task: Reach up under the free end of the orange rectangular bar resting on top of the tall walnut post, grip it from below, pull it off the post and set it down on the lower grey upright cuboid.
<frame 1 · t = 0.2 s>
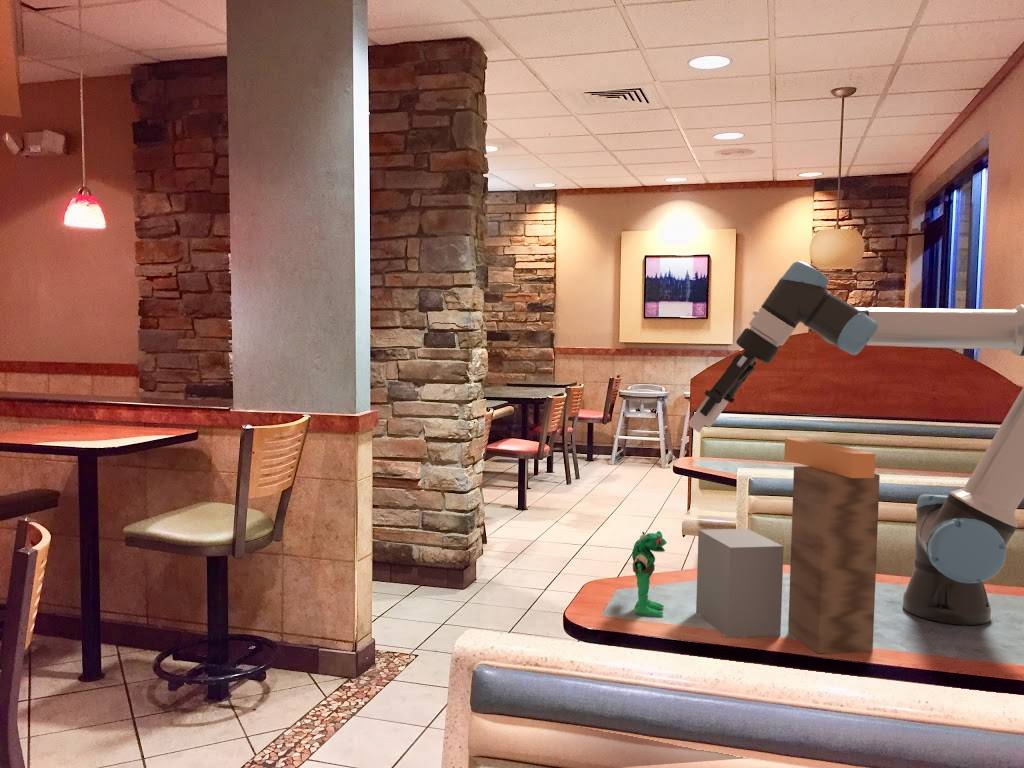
hand: (698, 426, 162), 35 cm above the table, tool tilted 35°, fingers open, 13 cm apart
toy: (647, 611, 158), on the table
grey upright cuboid: (736, 623, 152), on the table
orange rectangular bar: (826, 467, 144), point 30 cm above the table, touching post
post: (829, 641, 143), on the table
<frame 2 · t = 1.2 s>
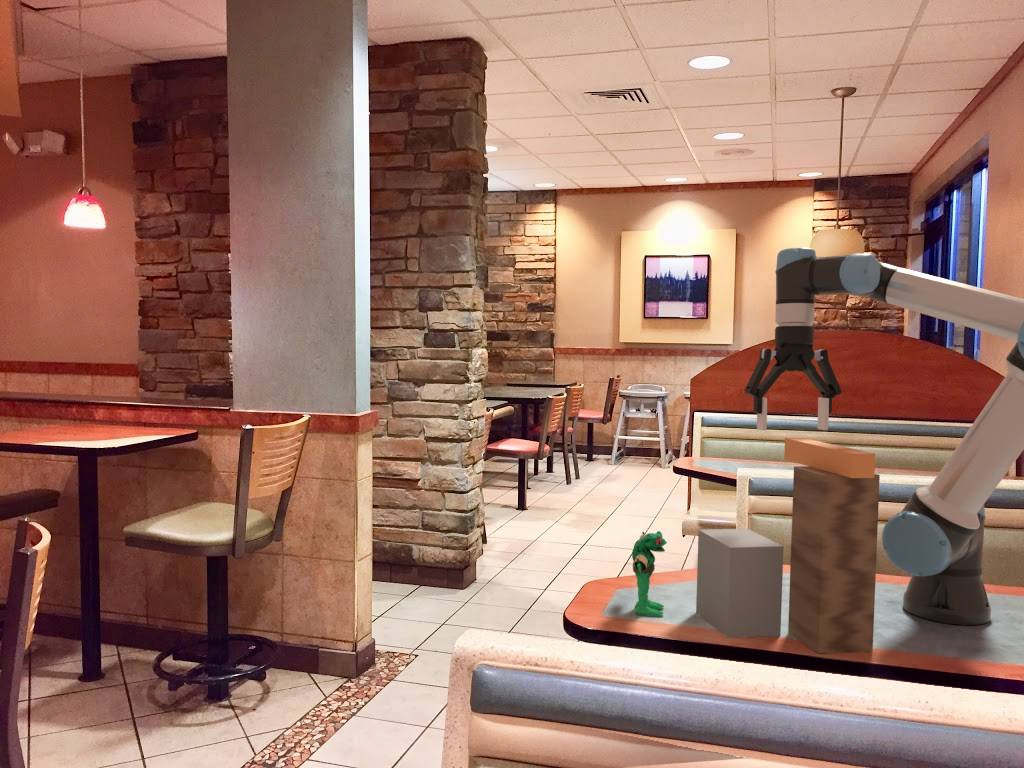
hand: (792, 429, 167), 34 cm above the table, tool pointing down, fingers open, 13 cm apart
nothing on the table moved.
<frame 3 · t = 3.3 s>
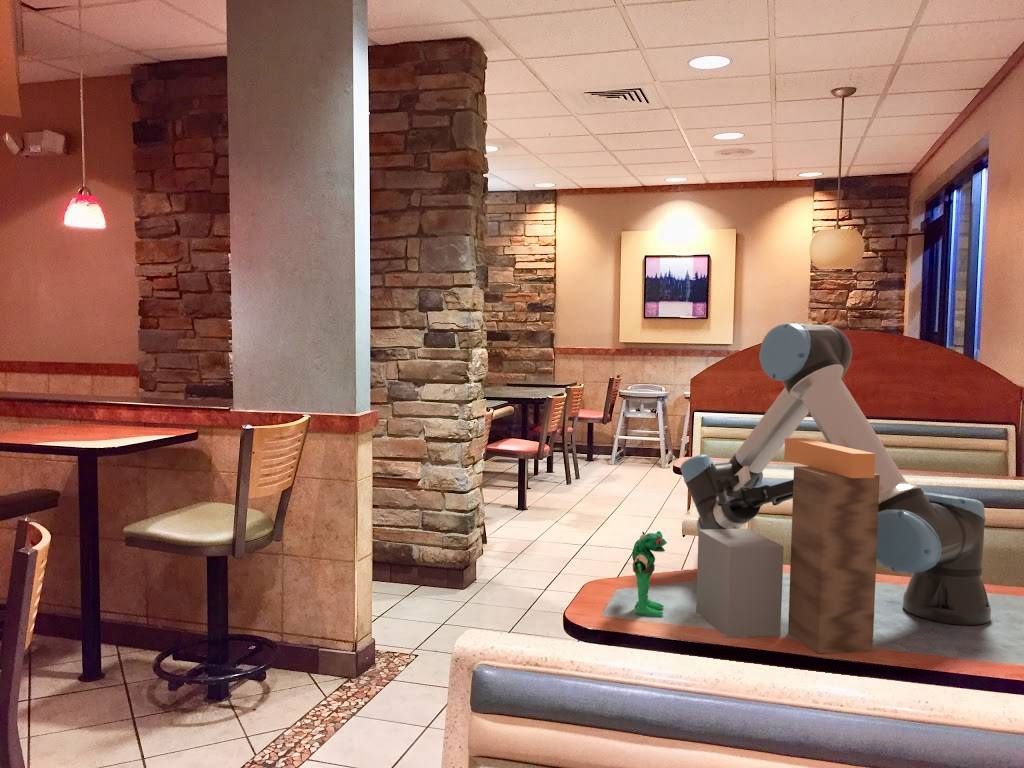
hand: (780, 472, 160), 27 cm above the table, tool pointing upward, fingers open, 13 cm apart
nothing on the table moved.
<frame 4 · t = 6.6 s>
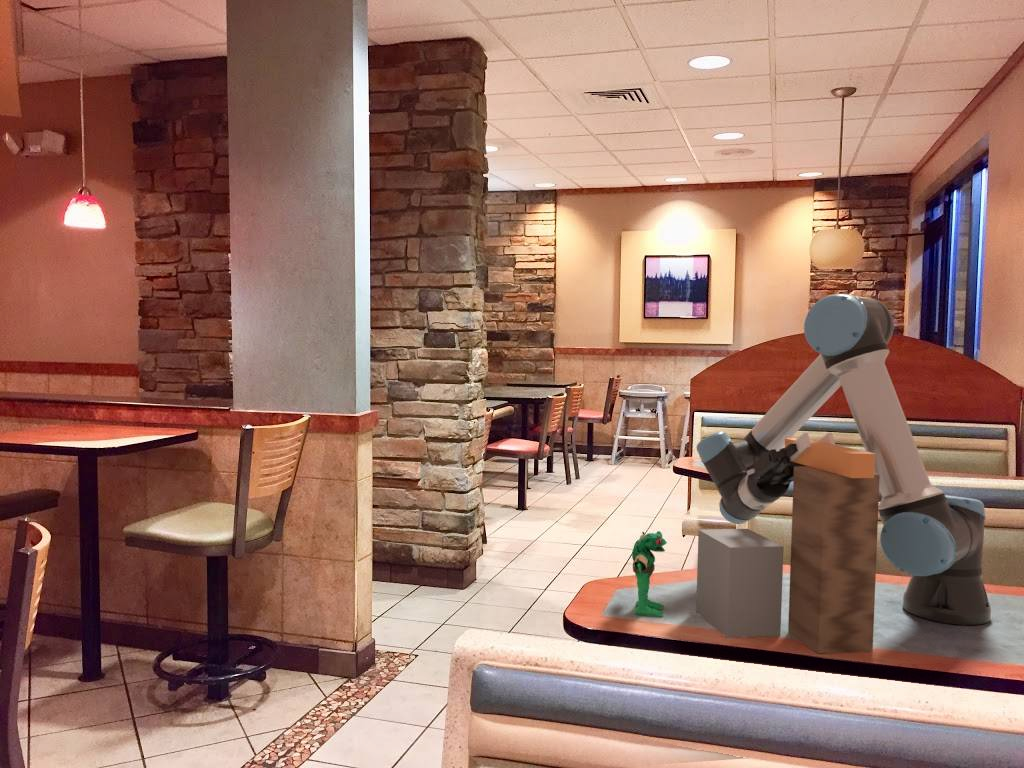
hand: (819, 439, 146), 35 cm above the table, tool pointing upward, fingers closed on orange rectangular bar, 4 cm apart
orange rectangular bar: (826, 467, 144), point 30 cm above the table, touching gripper, post
everything else where it was.
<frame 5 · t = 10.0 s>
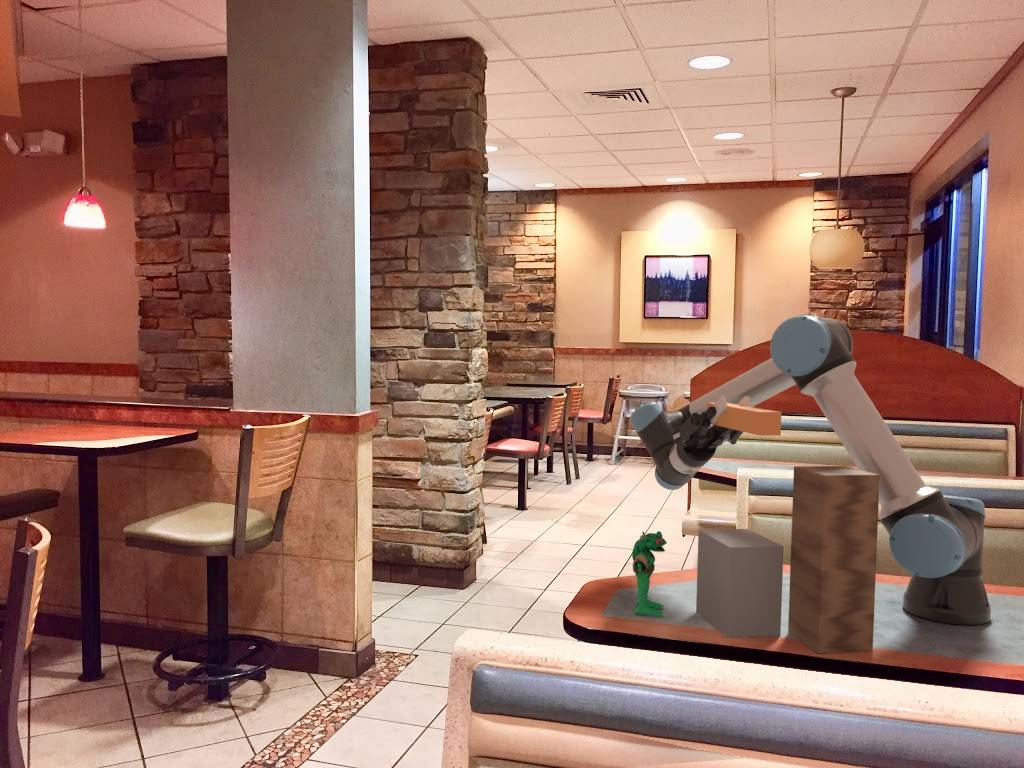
hand: (736, 402, 153), 41 cm above the table, tool pointing upward, fingers closed on orange rectangular bar, 4 cm apart
orange rectangular bar: (741, 428, 151), point 36 cm above the table, touching gripper
everything else where it was.
when the fingers open (25 cm above the table, at t = 13.2 s): orange rectangular bar drops 4 cm, resting on grey upright cuboid.
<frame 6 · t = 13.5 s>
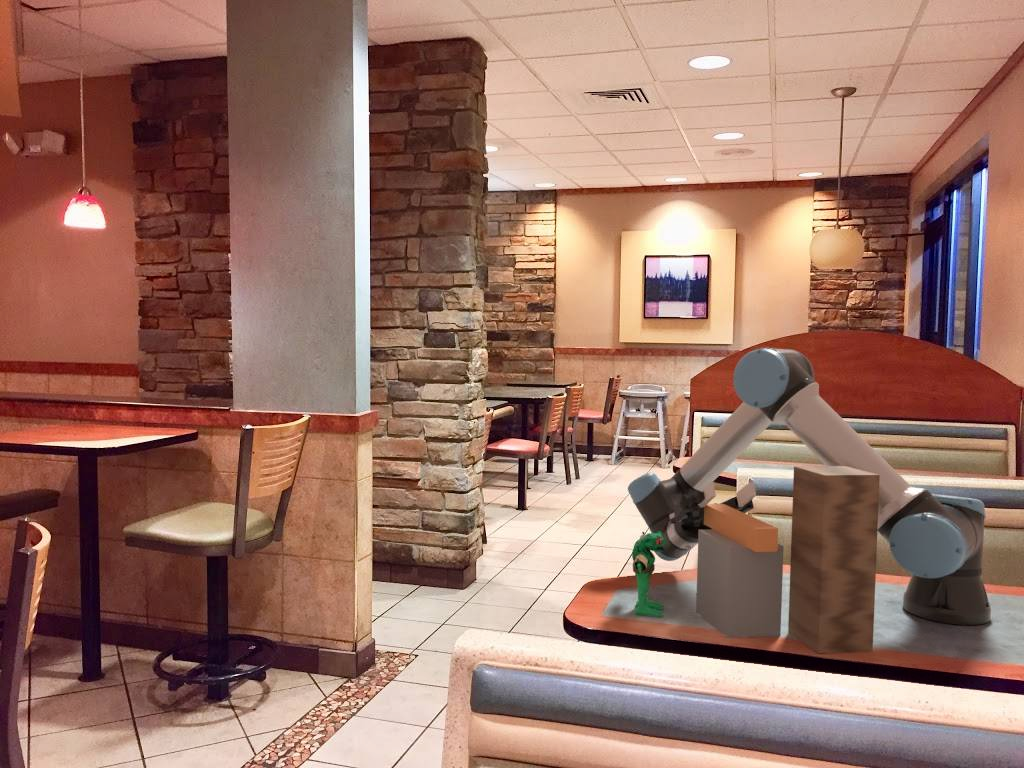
hand: (733, 488, 154), 24 cm above the table, tool pointing upward, fingers open, 7 cm apart
orange rectangular bar: (737, 536, 151), point 16 cm above the table, touching grey upright cuboid
everything else where it was.
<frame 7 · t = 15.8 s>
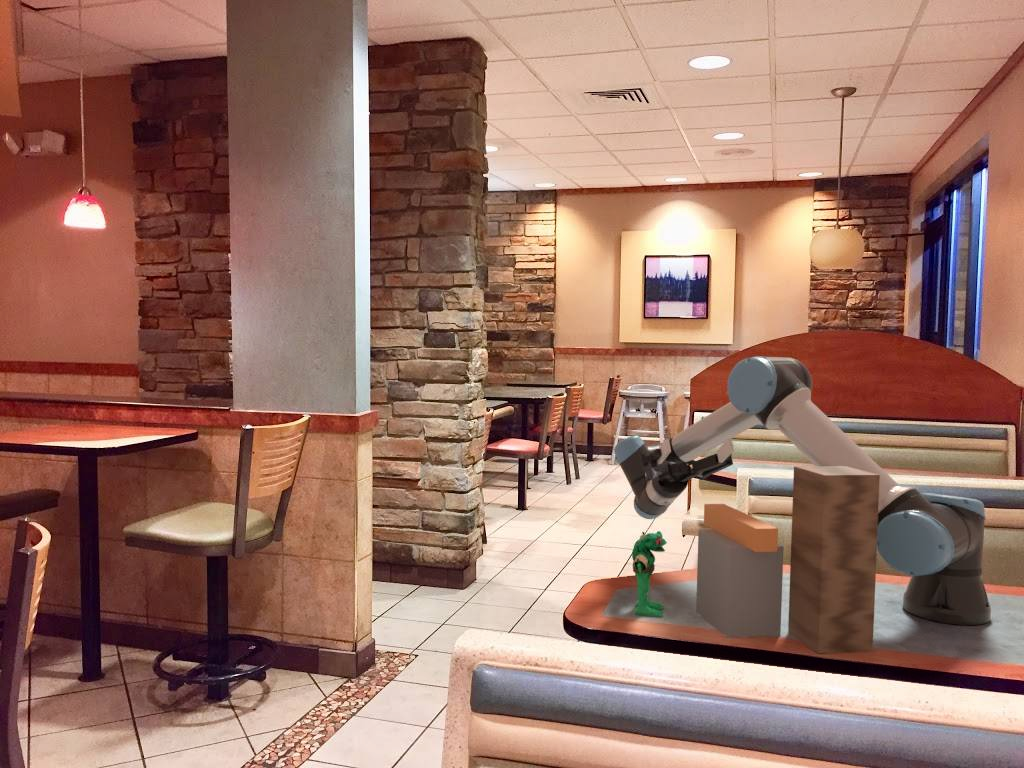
hand: (700, 444, 168), 31 cm above the table, tool pointing upward, fingers open, 13 cm apart
nothing on the table moved.
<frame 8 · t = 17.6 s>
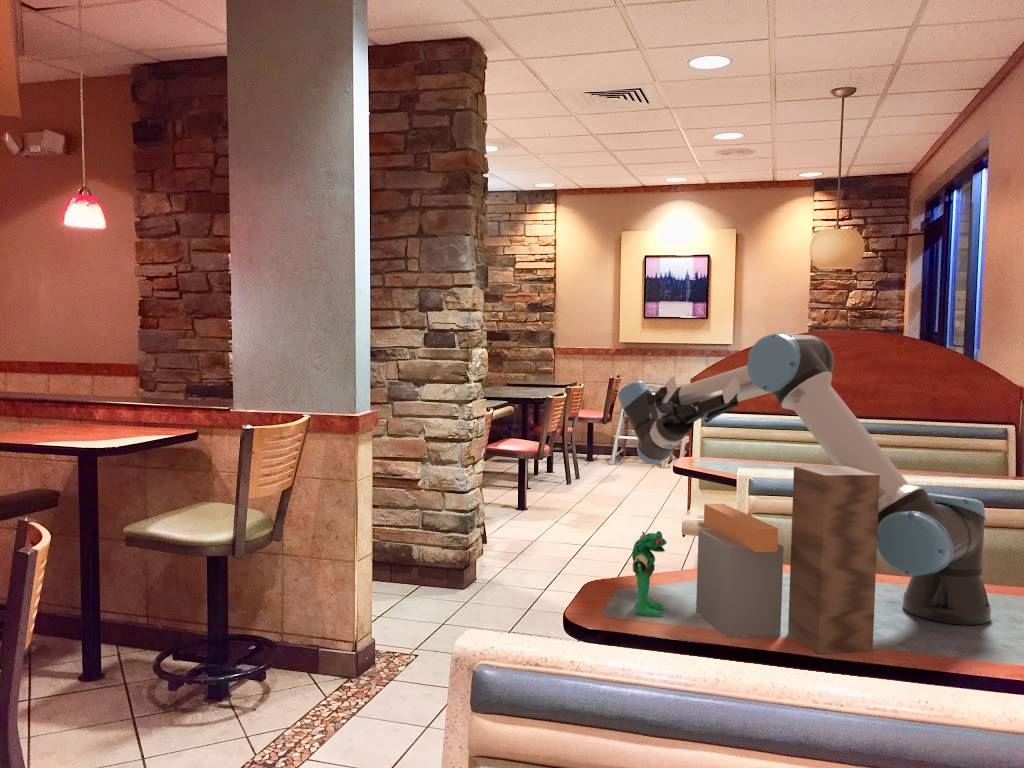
hand: (706, 382, 166), 44 cm above the table, tool pointing upward, fingers open, 13 cm apart
nothing on the table moved.
at the end: orange rectangular bar inside the target area on the grey upright cuboid (0.6 cm from its centre), point 16.0 cm above the grey upright cuboid's base; the gripper is holding nothing; orange rectangular bar touching grey upright cuboid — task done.
